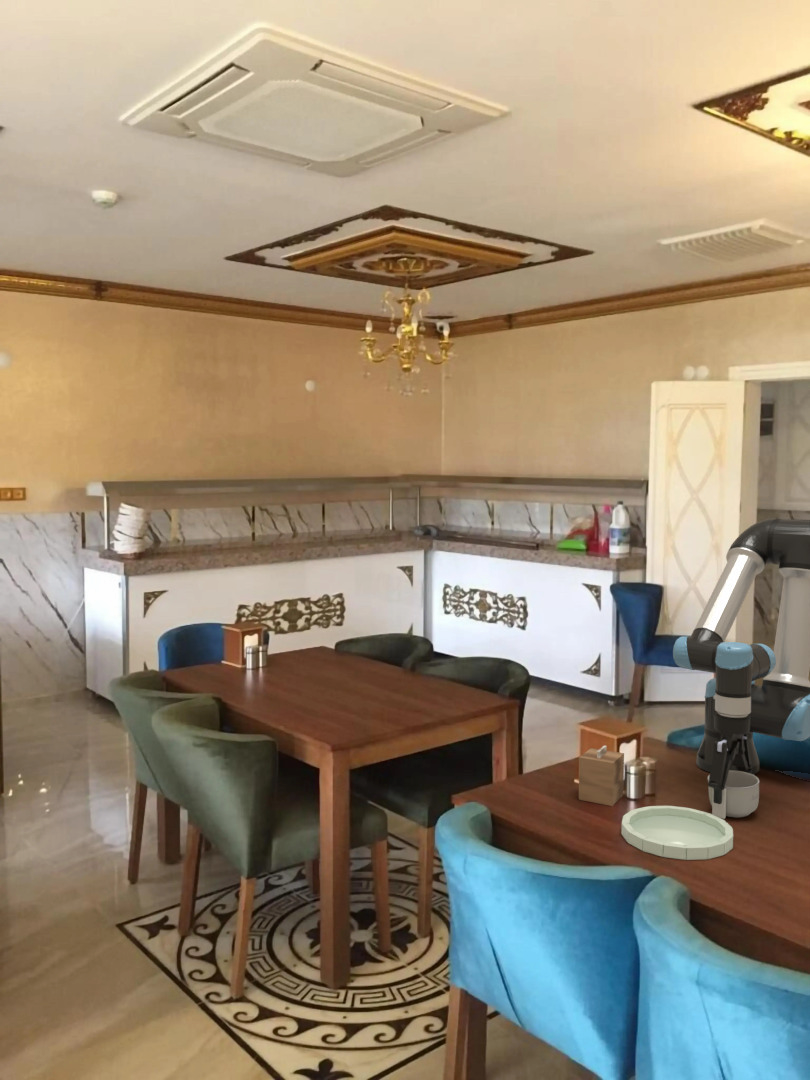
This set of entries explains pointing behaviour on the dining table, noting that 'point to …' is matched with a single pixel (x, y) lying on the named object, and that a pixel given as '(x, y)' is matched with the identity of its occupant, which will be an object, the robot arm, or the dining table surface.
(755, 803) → the teacup
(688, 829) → the tray
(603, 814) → the dining table surface
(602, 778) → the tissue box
